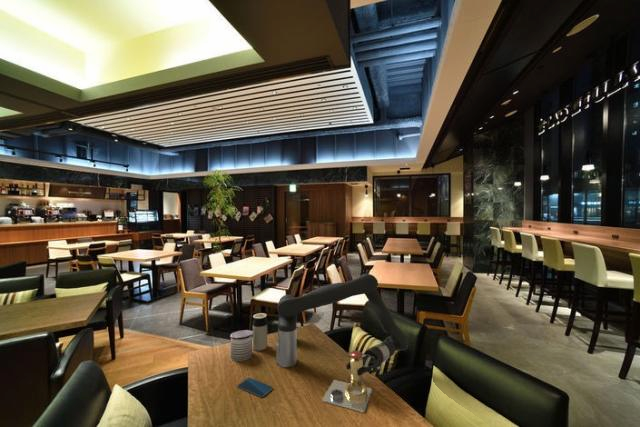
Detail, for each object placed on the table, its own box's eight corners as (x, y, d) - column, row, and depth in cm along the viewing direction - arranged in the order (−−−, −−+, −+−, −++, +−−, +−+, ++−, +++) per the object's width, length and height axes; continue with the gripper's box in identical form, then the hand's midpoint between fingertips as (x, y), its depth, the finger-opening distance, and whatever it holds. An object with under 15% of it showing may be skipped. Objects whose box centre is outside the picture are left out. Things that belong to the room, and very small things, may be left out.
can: (229, 362, 139) (229, 338, 139) (231, 351, 150) (231, 329, 150) (252, 359, 141) (252, 336, 141) (252, 349, 152) (252, 327, 152)
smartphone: (262, 399, 111) (262, 397, 111) (235, 388, 119) (235, 385, 119) (274, 389, 118) (274, 387, 118) (248, 378, 125) (248, 376, 125)
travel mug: (263, 351, 149) (263, 318, 150) (250, 350, 151) (250, 317, 151) (269, 344, 157) (269, 313, 157) (256, 343, 159) (256, 312, 159)
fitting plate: (322, 401, 109) (322, 395, 110) (334, 381, 122) (334, 376, 122) (364, 412, 103) (364, 406, 103) (372, 390, 116) (372, 385, 116)
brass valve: (349, 385, 112) (348, 355, 112) (352, 378, 117) (351, 349, 117) (361, 388, 110) (360, 357, 110) (364, 380, 115) (363, 351, 115)
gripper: (364, 341, 128) (339, 354, 117) (390, 352, 118) (366, 367, 106) (364, 357, 128) (339, 371, 117) (391, 369, 118) (366, 387, 106)
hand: (352, 369), depth 112 cm, fingers closed on brass valve, 5 cm apart
